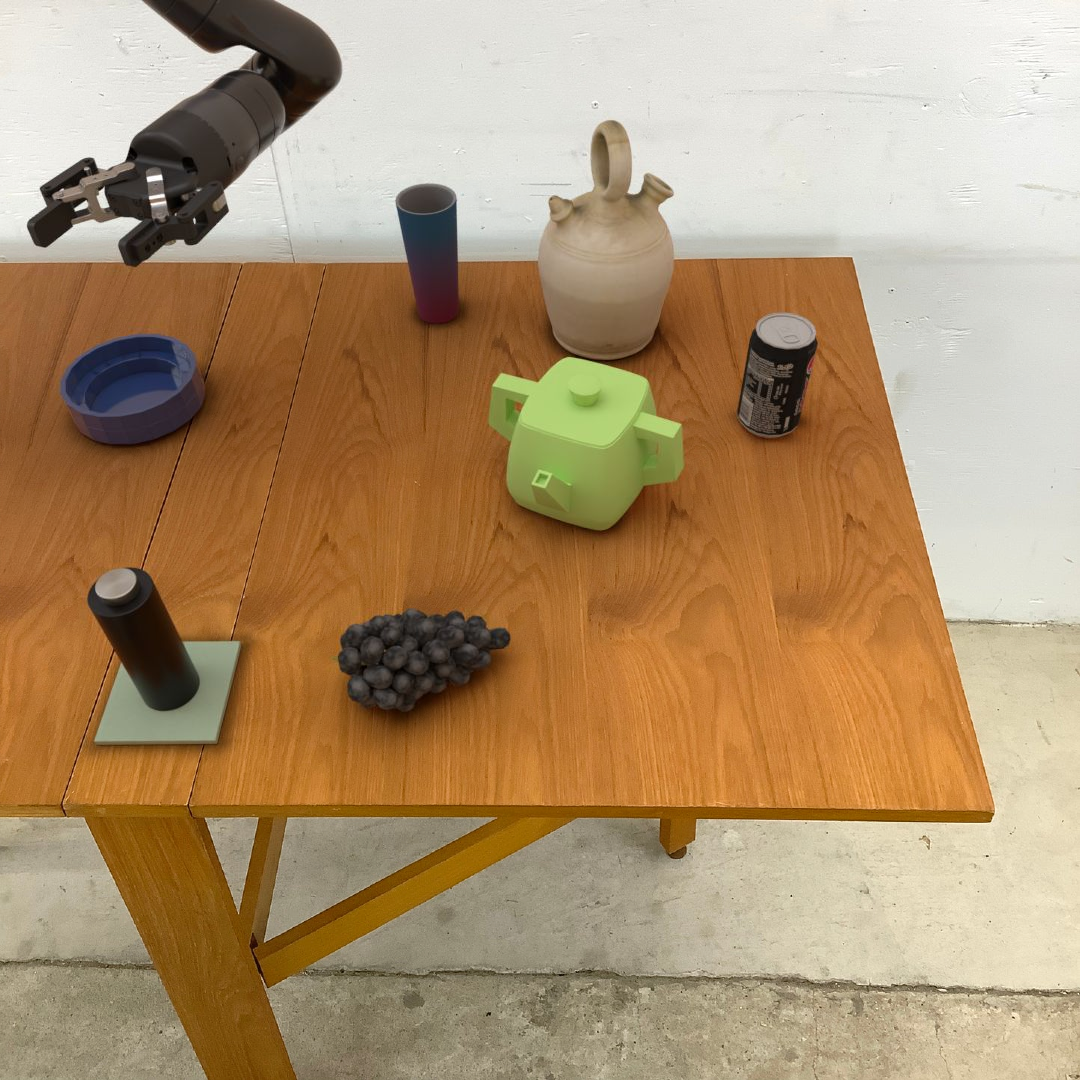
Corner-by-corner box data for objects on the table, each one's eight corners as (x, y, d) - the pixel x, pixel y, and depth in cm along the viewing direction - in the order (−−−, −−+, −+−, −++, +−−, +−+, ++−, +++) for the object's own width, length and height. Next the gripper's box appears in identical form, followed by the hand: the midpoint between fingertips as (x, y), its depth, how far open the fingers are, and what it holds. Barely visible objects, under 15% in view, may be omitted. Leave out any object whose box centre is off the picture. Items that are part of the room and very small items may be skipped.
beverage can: (783, 397, 108) (803, 305, 100) (808, 436, 104) (831, 343, 95) (726, 407, 108) (741, 315, 99) (750, 447, 103) (767, 355, 94)
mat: (96, 745, 81) (93, 741, 80) (130, 645, 87) (127, 641, 87) (217, 744, 80) (215, 740, 80) (242, 644, 87) (240, 640, 87)
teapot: (634, 592, 90) (643, 493, 81) (444, 528, 96) (430, 427, 86) (699, 466, 101) (713, 365, 92) (524, 414, 107) (521, 314, 98)
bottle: (130, 701, 83) (68, 598, 72) (163, 657, 86) (108, 551, 75) (179, 718, 81) (123, 615, 71) (210, 672, 84) (161, 567, 74)
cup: (447, 289, 124) (435, 177, 112) (477, 314, 120) (468, 201, 109) (400, 308, 121) (383, 195, 110) (429, 335, 117) (415, 221, 106)
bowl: (57, 449, 105) (40, 417, 101) (97, 366, 114) (83, 334, 111) (189, 447, 105) (177, 415, 101) (219, 364, 114) (208, 332, 111)
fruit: (501, 568, 81) (318, 612, 77) (530, 661, 78) (341, 711, 74) (495, 605, 88) (328, 646, 85) (520, 691, 85) (349, 737, 82)
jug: (662, 291, 122) (681, 89, 104) (671, 369, 112) (693, 160, 93) (540, 291, 123) (537, 90, 104) (537, 369, 112) (533, 161, 94)
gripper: (114, 97, 85) (-17, 186, 75) (257, 120, 81) (141, 217, 71) (142, 178, 90) (24, 272, 80) (277, 203, 87) (171, 305, 77)
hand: (79, 246), depth 76 cm, fingers open, 8 cm apart
